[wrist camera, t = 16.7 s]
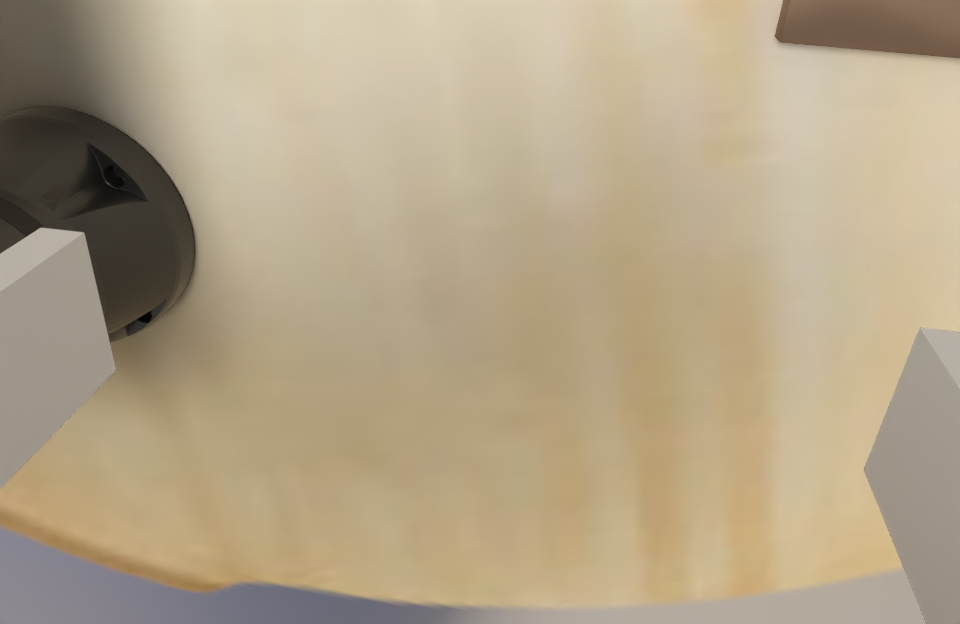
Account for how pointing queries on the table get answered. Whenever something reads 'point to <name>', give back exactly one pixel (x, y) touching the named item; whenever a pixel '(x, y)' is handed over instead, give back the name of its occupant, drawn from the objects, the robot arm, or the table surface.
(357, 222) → the table surface
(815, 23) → the post stand
